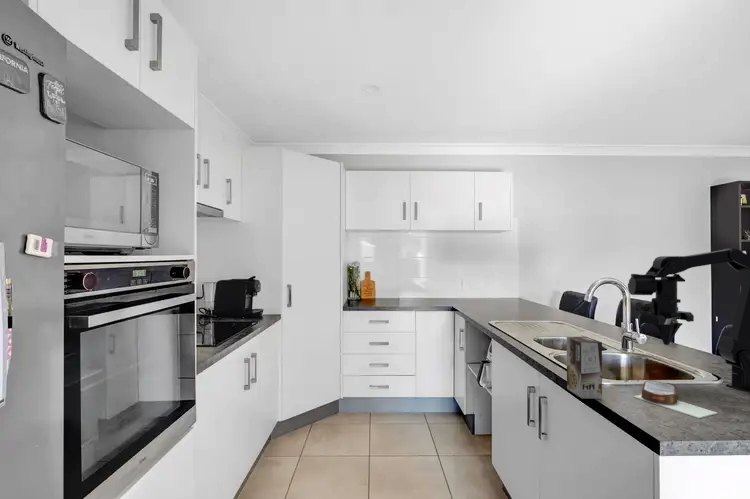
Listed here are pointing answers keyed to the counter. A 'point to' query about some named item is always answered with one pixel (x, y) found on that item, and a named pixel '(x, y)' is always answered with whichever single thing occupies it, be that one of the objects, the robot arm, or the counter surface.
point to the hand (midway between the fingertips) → (666, 344)
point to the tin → (659, 392)
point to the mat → (685, 408)
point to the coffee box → (584, 367)
